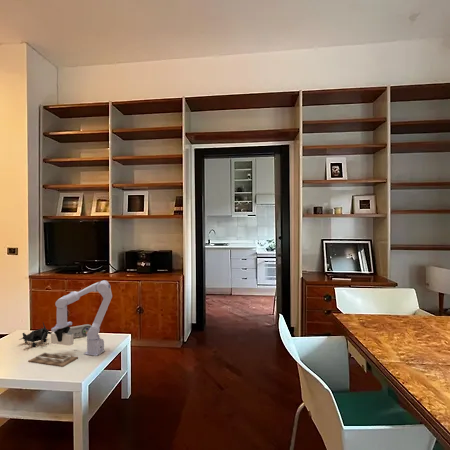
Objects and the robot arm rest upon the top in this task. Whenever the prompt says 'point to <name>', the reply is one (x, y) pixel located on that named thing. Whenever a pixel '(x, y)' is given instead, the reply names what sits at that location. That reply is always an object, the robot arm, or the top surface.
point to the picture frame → (53, 359)
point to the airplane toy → (36, 336)
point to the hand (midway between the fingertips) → (62, 340)
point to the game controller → (80, 330)
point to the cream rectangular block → (66, 339)
